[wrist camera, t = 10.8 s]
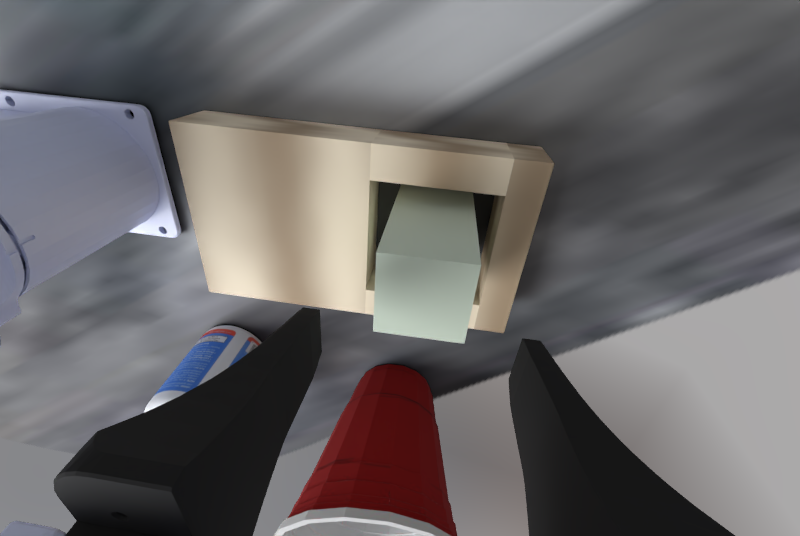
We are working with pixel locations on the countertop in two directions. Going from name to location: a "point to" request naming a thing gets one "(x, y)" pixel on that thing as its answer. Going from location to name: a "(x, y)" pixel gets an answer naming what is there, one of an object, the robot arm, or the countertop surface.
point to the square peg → (427, 265)
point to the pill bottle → (206, 361)
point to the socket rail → (341, 205)
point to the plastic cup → (379, 466)
